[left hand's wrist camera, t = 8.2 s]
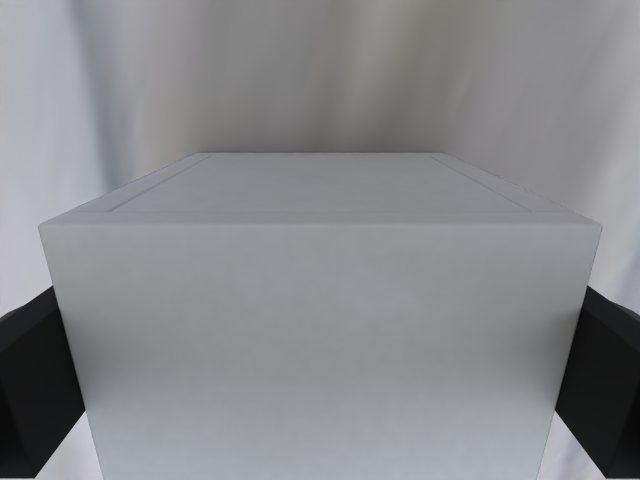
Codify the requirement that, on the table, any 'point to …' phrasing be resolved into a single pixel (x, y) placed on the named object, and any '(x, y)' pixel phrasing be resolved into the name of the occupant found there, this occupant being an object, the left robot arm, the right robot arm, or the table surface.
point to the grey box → (320, 318)
